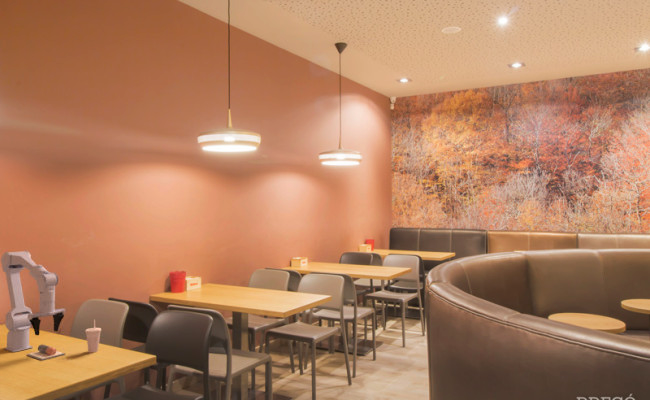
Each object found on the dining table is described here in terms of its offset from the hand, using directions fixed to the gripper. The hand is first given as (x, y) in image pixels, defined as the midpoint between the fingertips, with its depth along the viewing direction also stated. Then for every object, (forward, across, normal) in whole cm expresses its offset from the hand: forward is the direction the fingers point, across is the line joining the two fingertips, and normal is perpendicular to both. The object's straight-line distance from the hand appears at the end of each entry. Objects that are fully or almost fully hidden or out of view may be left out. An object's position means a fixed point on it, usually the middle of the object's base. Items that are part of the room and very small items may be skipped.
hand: (46, 333), depth 196 cm
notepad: (+9, 0, 0) cm, 9 cm away
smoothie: (+10, +14, -12) cm, 21 cm away
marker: (+9, 0, 0) cm, 9 cm away
